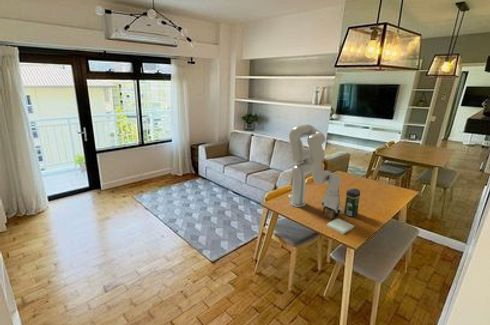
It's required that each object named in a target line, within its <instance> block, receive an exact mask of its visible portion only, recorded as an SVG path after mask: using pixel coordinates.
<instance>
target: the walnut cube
mask: <svg viewBox="0 0 490 325" xmlns="http://www.w3.org/2000/svg"><path fill="white" fill-rule="evenodd" d="M323 212H324V213H323V216H324V217H325V218H328V219H331V220H334V219H336V218H335V212H336V211H335V210H334V209H331V208H329V207H326V208H325V211H323Z"/></svg>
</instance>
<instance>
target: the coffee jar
mask: <svg viewBox="0 0 490 325" xmlns="http://www.w3.org/2000/svg"><path fill="white" fill-rule="evenodd" d="M345 196H346V197H345V203H344V204H345V205H344V208H343V214H344V215H345V216H347V217H356V216H357V214H358V213H359V203H360V197H361V190H360V189H359V188H355V187H352V188H349V189H348V190H346V194H345Z"/></svg>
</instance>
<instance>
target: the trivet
mask: <svg viewBox="0 0 490 325" xmlns="http://www.w3.org/2000/svg"><path fill="white" fill-rule="evenodd" d="M326 227H328V228H329V229H332V230H334V231H336V232H337V233H340V234H342V235H344V234H346V233H347V232H349V231H351V230H352V229H354V228H355V225H353V224H351V223H349V222H347V221H346V220H343V219H341V218H338V217H337V218H334V219H332V221H329V222H327V223H326Z"/></svg>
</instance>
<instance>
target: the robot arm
mask: <svg viewBox="0 0 490 325" xmlns="http://www.w3.org/2000/svg"><path fill="white" fill-rule="evenodd" d="M305 137H307V144H308V148H309V149H308V148H307V147H303V145H304V144H303V141H302V140H301V139H302V138H305ZM288 138H289V144H290V151H291V152H290V153H291V158H292V161H293V162H294V163H297V164H296V165H294V166H293V167H292V169H291V176H292V184H291V194H289V195H288V197H287V198H288V199H290V200H288V201H289V203H288V204H289V205H290V206H292V207H295V208H302V207H305V206H306V204H307V202H306V201H305V192H306V179H305V177H306V175H308V174H310V173H311V175H312V178H313V181H314V182H315V184H317V185H323V184H325V183H327V187H326V188H325V190H326V192H325V194H324V198H323V199H321V200H320V202H321V205H322V207H323V210H322V211H323V212H322V213H323V214H324V211H325V208H326V207H329V208H331V209H334V210H335V211H336V212H335V218H334V219H336V218H338V217H339V215H340V214H339V213H340V212H342V211H344V207H343V206H342V205H341V203H340V202H341V196H340V187H341V186H340V185H341V175H340V174H339V173H333V172H331V171H329V170H327V169H326V170H322V168H321V167H322V162H323V160H324V158H325V152H324V149H323V145H324V144H325V142H326V136H325V135H324V133H322V132H321V131H320V130H318V129H317V128H316V127H315V126H313V125H311V124H301V125H297V126H295V127H293V128H292V129H290V131H289V134H288Z"/></svg>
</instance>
